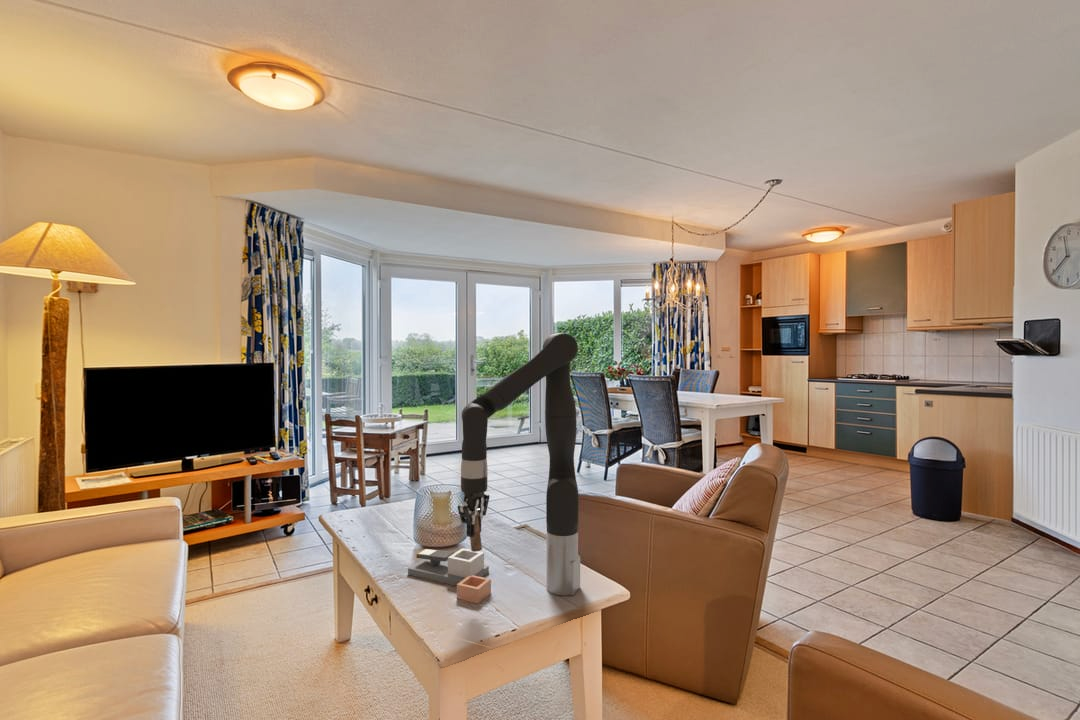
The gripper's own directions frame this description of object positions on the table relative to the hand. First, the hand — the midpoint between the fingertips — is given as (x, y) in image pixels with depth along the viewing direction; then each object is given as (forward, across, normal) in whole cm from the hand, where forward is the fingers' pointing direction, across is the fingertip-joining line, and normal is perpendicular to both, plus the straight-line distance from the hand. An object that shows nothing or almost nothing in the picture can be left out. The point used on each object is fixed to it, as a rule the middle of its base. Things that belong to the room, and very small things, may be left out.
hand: (474, 534), depth 149 cm
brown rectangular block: (+4, 0, -1) cm, 4 cm away
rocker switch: (+13, +9, +20) cm, 25 cm away
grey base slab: (+18, +9, +15) cm, 25 cm away
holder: (+18, 0, 0) cm, 18 cm away
